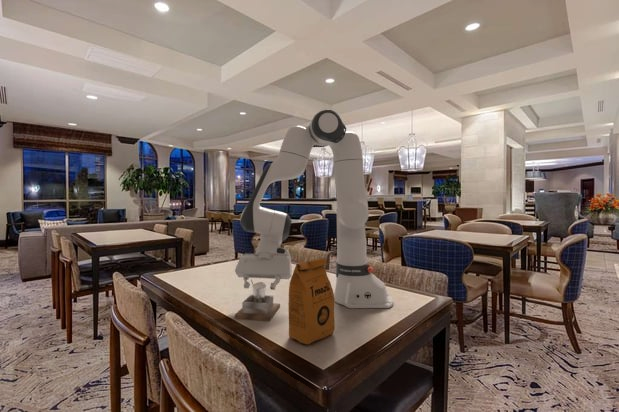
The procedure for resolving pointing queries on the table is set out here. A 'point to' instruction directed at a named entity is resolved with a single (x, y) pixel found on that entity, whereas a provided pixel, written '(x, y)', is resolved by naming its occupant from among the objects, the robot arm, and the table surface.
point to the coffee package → (310, 302)
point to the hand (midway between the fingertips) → (259, 288)
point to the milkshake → (259, 292)
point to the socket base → (258, 309)
